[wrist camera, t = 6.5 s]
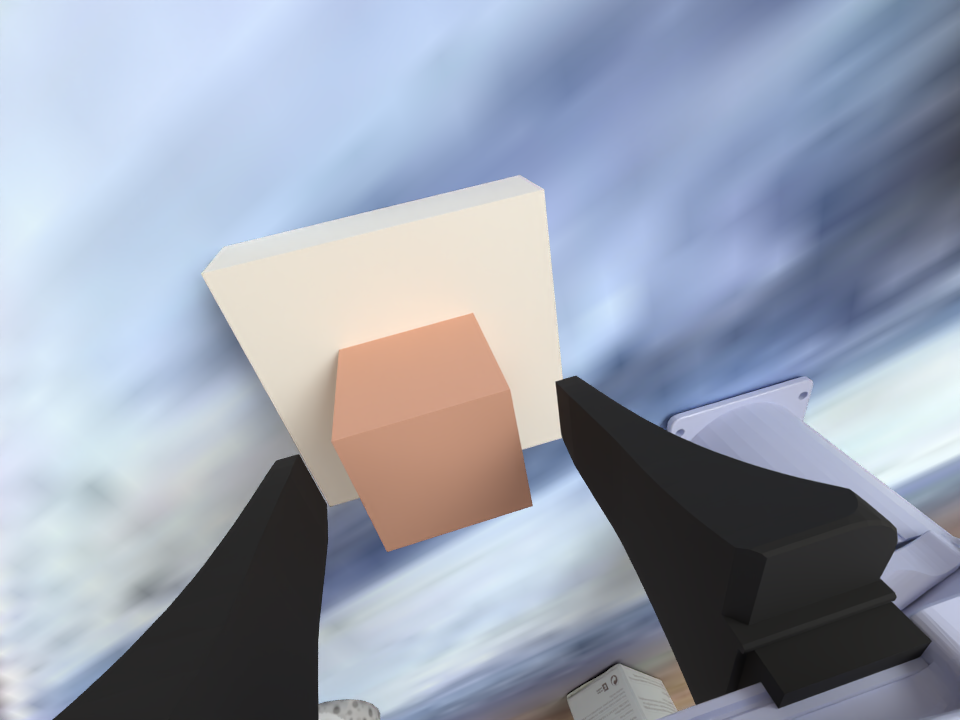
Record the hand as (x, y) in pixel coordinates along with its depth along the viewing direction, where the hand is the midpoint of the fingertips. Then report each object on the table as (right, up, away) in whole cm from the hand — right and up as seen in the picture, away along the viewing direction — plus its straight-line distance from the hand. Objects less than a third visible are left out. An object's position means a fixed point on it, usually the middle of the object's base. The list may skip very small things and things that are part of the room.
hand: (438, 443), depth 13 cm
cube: (-1, +1, +3) cm, 4 cm away
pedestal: (-1, +3, +5) cm, 6 cm away
